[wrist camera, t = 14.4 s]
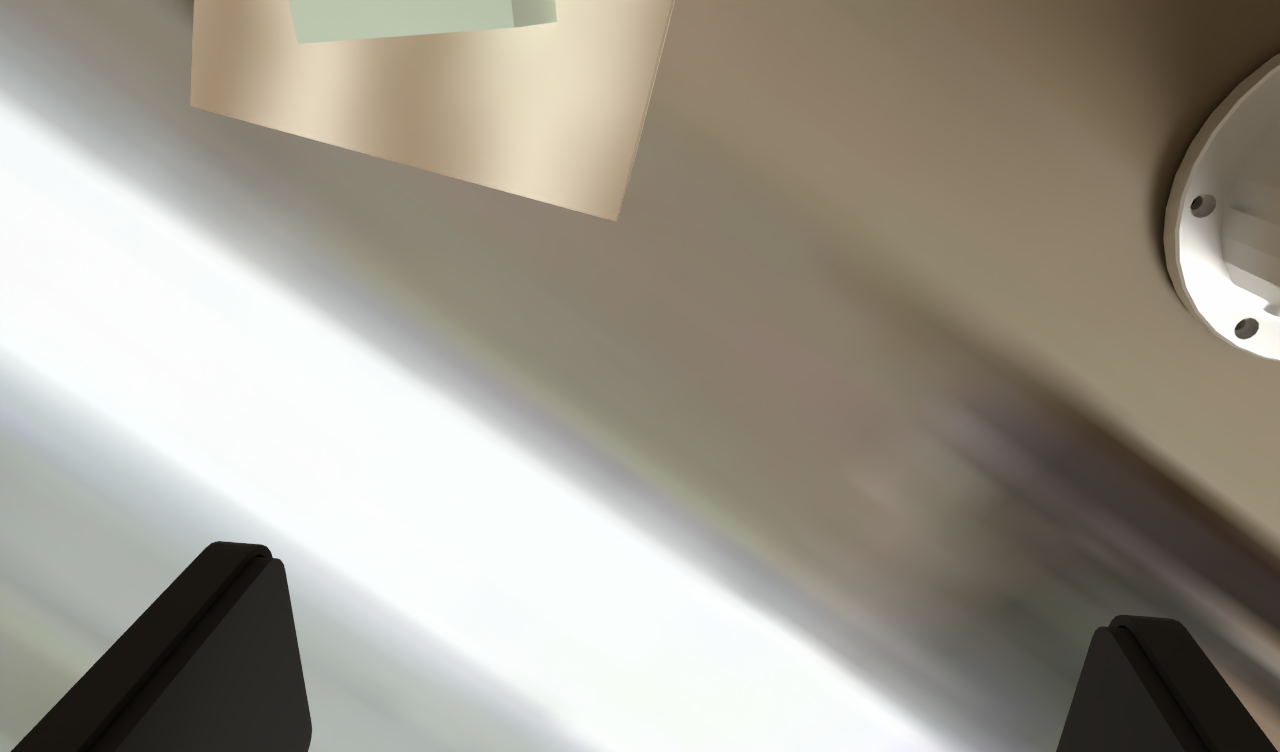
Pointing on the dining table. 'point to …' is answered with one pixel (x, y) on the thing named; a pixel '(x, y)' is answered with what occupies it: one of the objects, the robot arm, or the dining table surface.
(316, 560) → the dining table surface
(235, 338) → the dining table surface
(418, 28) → the sage block
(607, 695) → the dining table surface
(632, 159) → the birch block
